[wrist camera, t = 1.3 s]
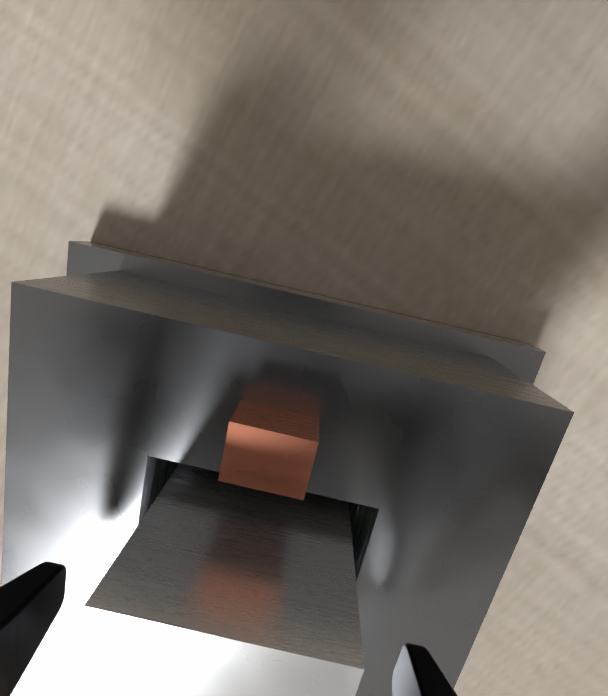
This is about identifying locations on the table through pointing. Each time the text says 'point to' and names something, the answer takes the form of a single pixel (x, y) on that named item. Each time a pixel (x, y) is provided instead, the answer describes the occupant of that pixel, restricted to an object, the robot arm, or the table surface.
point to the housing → (268, 438)
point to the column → (227, 598)
